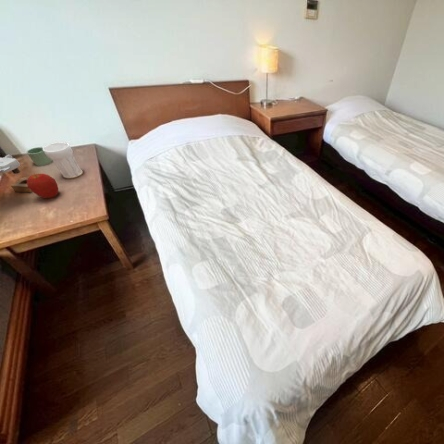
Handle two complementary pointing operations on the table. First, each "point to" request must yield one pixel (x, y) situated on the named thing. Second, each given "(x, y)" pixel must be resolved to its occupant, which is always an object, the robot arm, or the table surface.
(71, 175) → the cup
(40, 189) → the red ovoid fruit
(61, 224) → the table surface
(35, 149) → the dessert cup
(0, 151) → the strawberry fork
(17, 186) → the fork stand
